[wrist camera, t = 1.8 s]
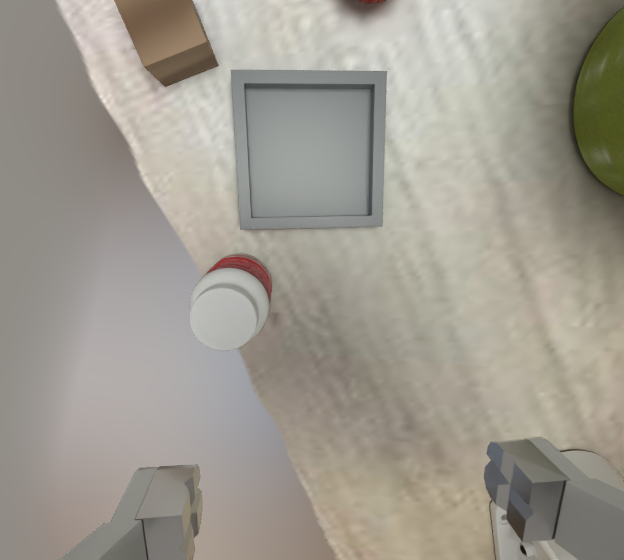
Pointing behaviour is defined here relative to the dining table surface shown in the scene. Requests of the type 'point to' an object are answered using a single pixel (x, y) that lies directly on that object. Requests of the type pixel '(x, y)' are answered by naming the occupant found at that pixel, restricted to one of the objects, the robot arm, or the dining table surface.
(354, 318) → the dining table surface
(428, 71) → the dining table surface
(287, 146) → the tray
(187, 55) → the walnut block
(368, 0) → the red round piece
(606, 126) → the plant pot
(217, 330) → the pill bottle
